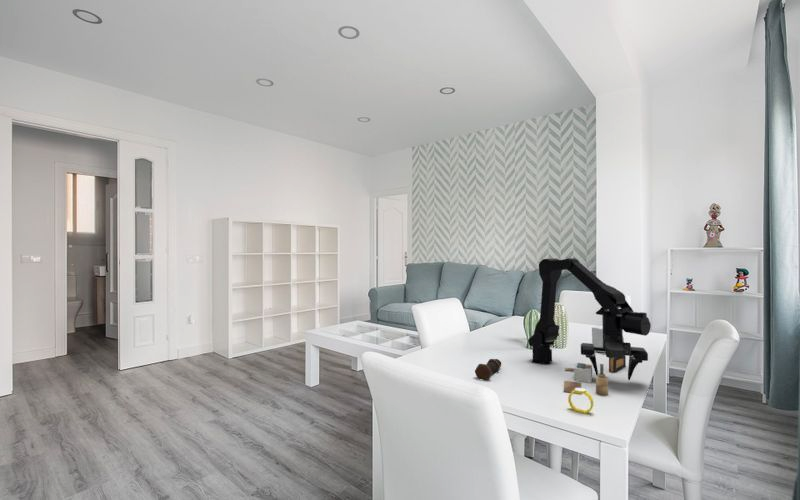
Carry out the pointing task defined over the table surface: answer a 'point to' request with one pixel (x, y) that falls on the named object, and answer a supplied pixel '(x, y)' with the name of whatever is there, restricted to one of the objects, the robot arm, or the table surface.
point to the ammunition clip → (617, 364)
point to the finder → (583, 372)
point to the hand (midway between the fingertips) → (612, 377)
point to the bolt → (487, 369)
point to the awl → (601, 382)
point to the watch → (580, 391)
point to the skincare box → (597, 337)
